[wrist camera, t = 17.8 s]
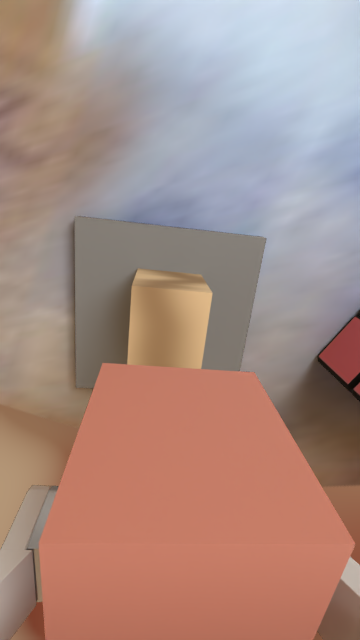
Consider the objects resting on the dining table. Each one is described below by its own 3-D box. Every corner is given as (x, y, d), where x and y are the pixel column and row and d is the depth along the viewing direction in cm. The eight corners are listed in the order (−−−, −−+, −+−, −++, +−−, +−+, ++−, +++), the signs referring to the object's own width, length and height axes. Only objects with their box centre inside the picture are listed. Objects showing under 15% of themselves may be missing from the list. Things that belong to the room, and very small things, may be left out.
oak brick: (201, 274, 22) (212, 293, 17) (189, 361, 24) (196, 398, 19) (137, 268, 21) (131, 285, 17) (132, 357, 24) (125, 394, 19)
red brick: (254, 372, 9) (355, 544, 4) (219, 534, 12) (261, 757, 7) (102, 362, 9) (38, 543, 4) (98, 533, 11) (54, 771, 6)
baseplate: (261, 236, 22) (266, 238, 21) (231, 388, 27) (234, 396, 25) (79, 216, 21) (74, 216, 20) (79, 379, 25) (75, 387, 24)
